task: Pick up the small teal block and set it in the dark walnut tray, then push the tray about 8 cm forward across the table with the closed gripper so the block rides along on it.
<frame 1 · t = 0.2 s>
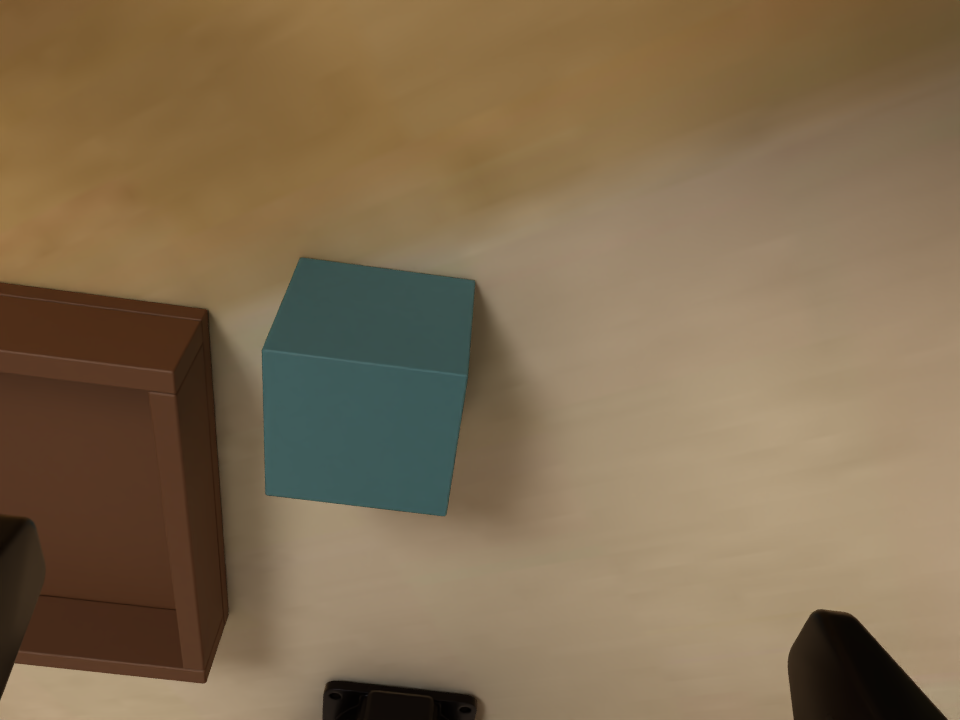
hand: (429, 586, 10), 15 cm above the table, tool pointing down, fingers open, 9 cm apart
block: (382, 339, 26), on the table
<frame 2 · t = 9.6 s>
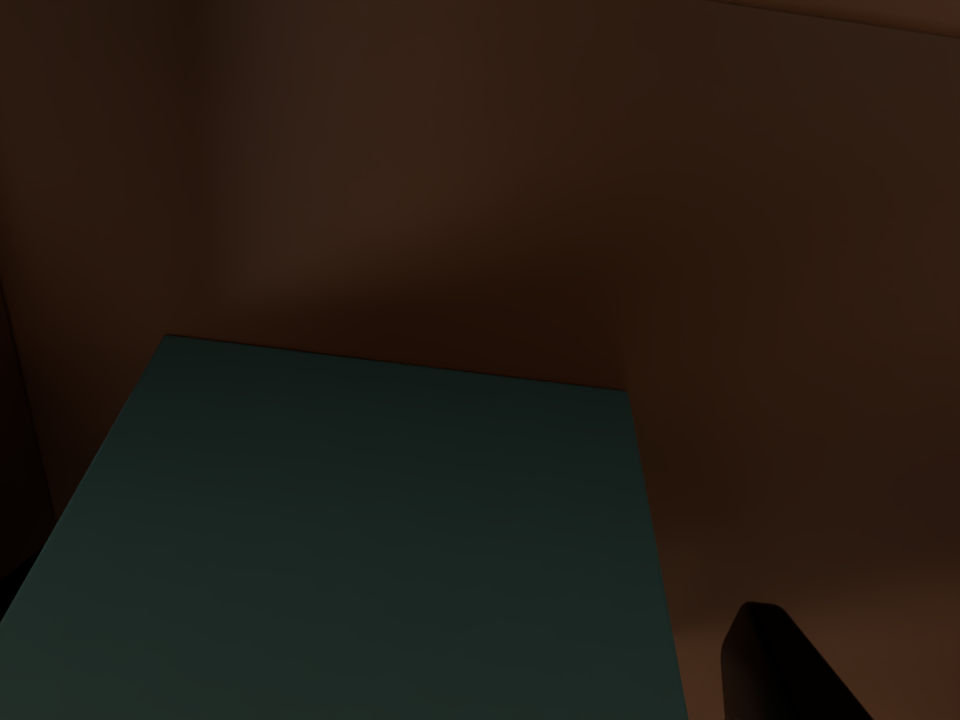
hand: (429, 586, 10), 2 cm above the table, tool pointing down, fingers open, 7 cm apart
tray: (573, 509, 11), on the table, touching block, gripper
block: (384, 521, 11), point 1 cm above the table, touching tray
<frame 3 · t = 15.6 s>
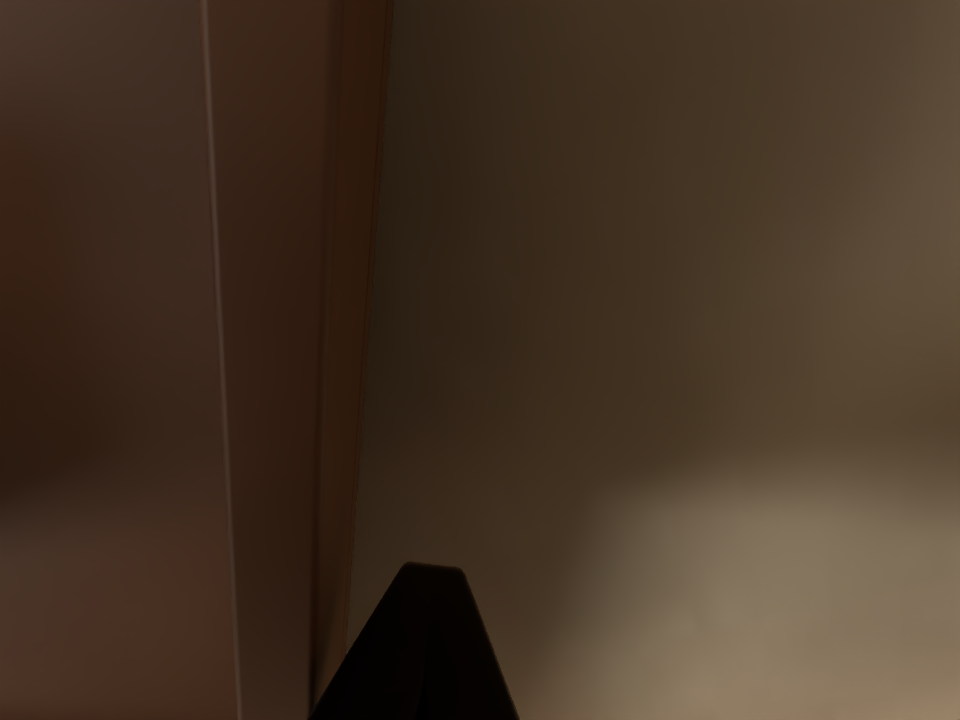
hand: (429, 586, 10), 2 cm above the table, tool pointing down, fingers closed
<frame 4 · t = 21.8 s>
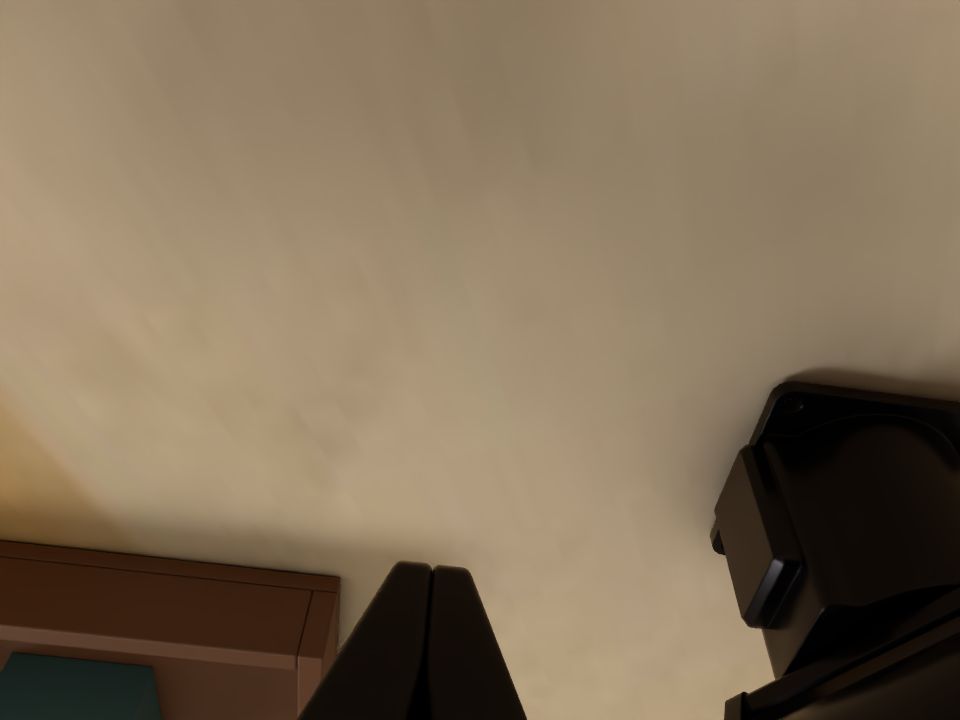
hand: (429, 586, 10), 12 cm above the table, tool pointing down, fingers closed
tray: (143, 688, 33), on the table, touching block
block: (92, 698, 32), point 1 cm above the table, touching tray
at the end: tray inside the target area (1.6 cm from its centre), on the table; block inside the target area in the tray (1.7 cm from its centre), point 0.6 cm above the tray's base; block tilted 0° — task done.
